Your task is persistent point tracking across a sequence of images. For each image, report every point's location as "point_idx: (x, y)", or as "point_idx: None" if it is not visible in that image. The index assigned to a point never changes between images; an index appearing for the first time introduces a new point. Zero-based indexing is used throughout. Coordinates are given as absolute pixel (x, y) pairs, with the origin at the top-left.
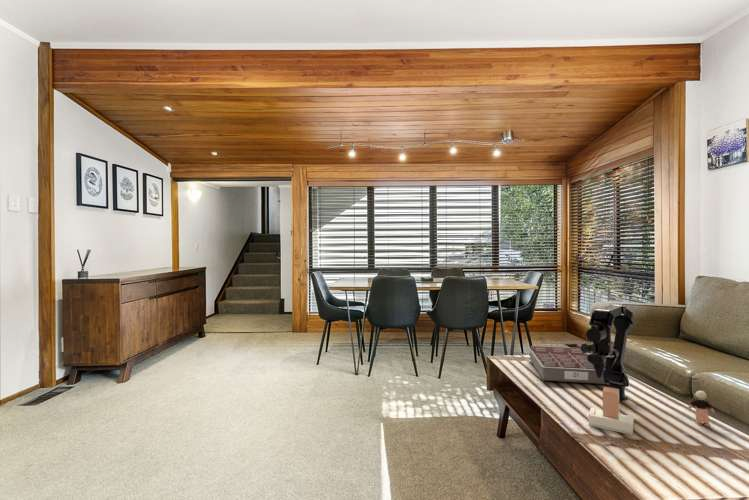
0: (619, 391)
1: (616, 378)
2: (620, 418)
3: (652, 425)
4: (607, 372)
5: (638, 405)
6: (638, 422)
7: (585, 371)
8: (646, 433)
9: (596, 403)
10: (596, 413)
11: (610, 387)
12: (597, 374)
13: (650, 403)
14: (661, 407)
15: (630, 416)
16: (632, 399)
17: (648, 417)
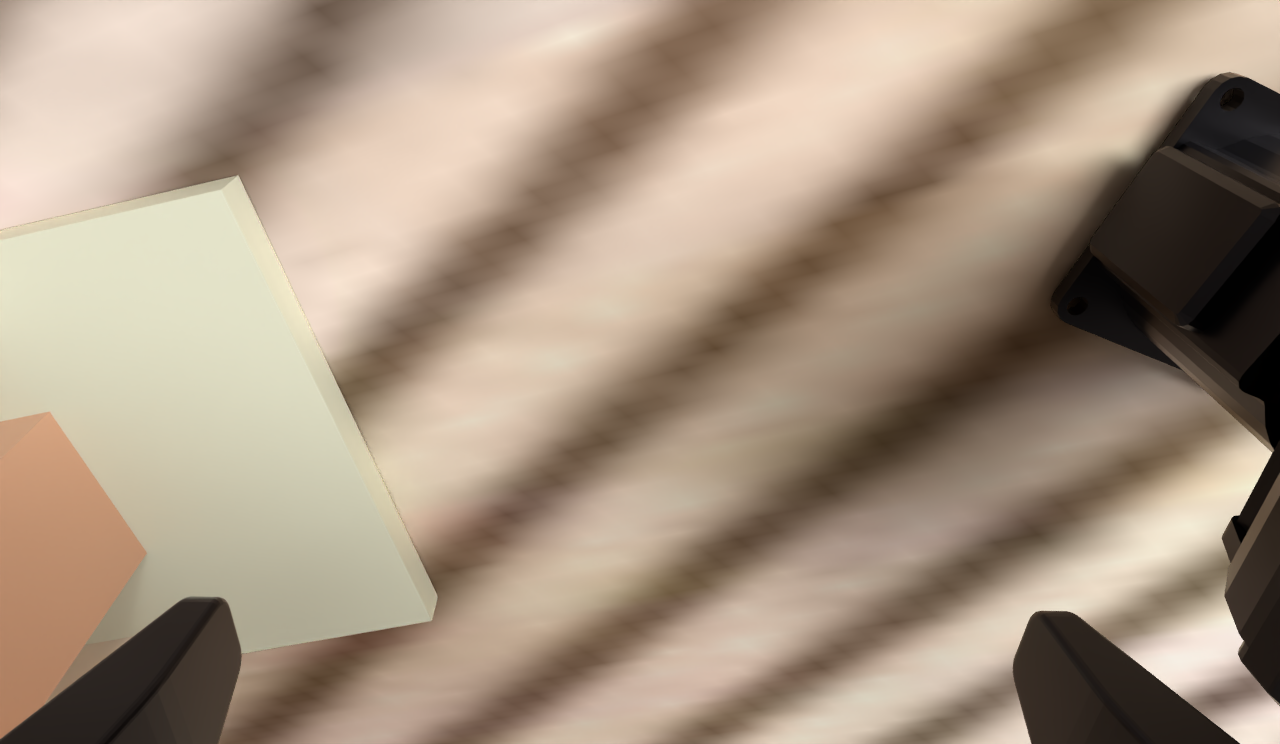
0: (1202, 382)
1: (1272, 571)
2: (223, 545)
3: (426, 725)
4: (1037, 671)
5: (1011, 525)
6: (386, 640)
7: None
8: None
9: (672, 83)
10: (67, 294)
11: (1264, 260)
12: (82, 706)
13: (1186, 592)
14: None
15: None
16: None
17: (637, 666)
